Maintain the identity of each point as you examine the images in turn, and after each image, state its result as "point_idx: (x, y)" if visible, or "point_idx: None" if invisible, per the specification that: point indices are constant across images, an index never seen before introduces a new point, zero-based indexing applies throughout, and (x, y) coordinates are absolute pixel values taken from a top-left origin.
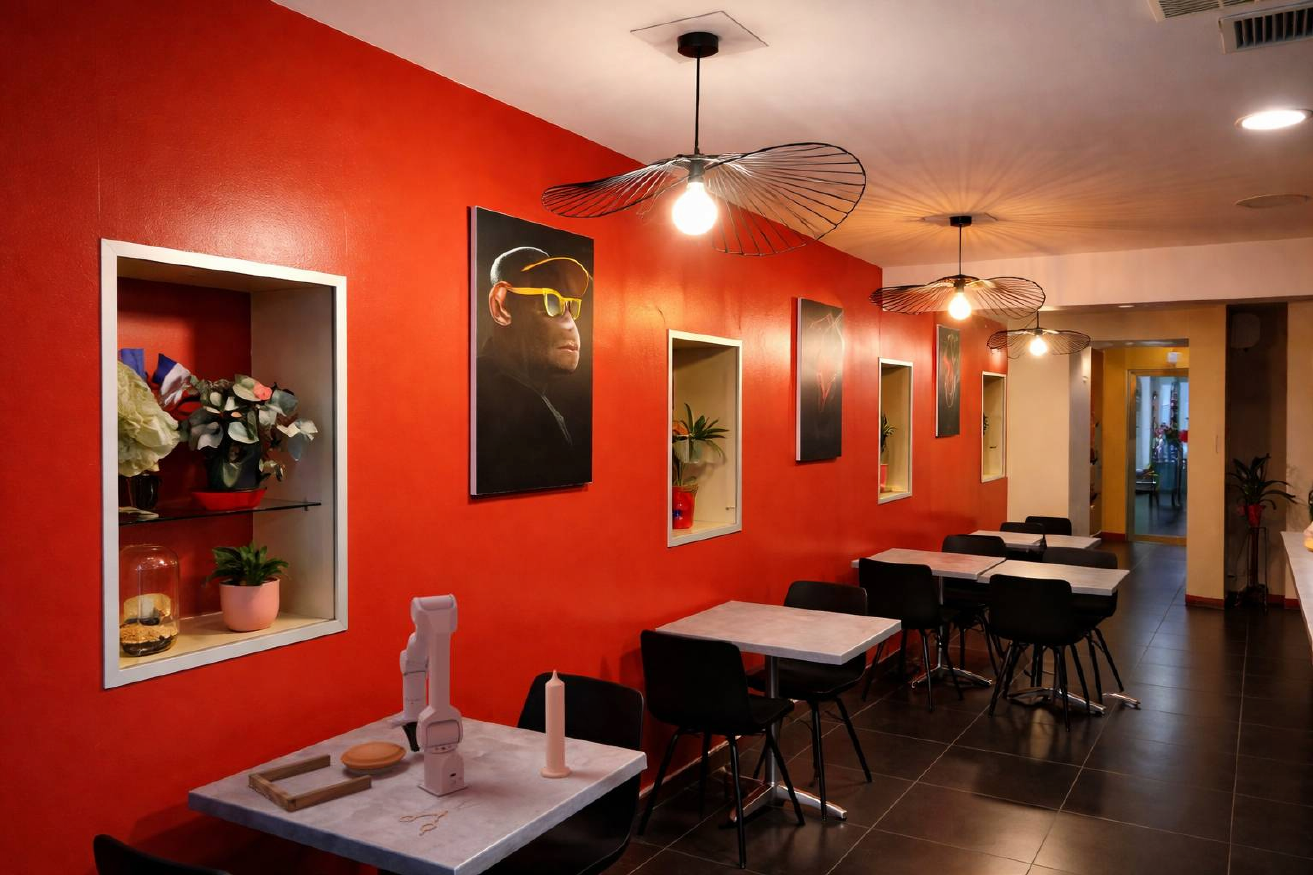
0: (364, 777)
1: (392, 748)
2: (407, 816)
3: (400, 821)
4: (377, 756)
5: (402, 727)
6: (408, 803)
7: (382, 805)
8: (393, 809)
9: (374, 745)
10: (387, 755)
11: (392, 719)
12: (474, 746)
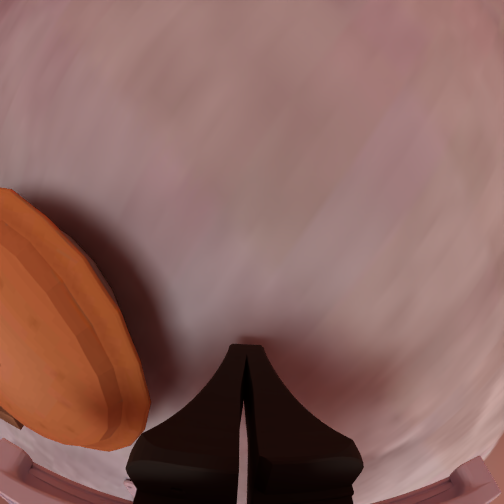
0: (7, 419)
1: (72, 417)
2: None
3: None
4: (18, 414)
5: (148, 434)
6: (92, 488)
7: (52, 464)
8: None
9: (1, 322)
10: (49, 436)
11: (12, 496)
12: (448, 388)
